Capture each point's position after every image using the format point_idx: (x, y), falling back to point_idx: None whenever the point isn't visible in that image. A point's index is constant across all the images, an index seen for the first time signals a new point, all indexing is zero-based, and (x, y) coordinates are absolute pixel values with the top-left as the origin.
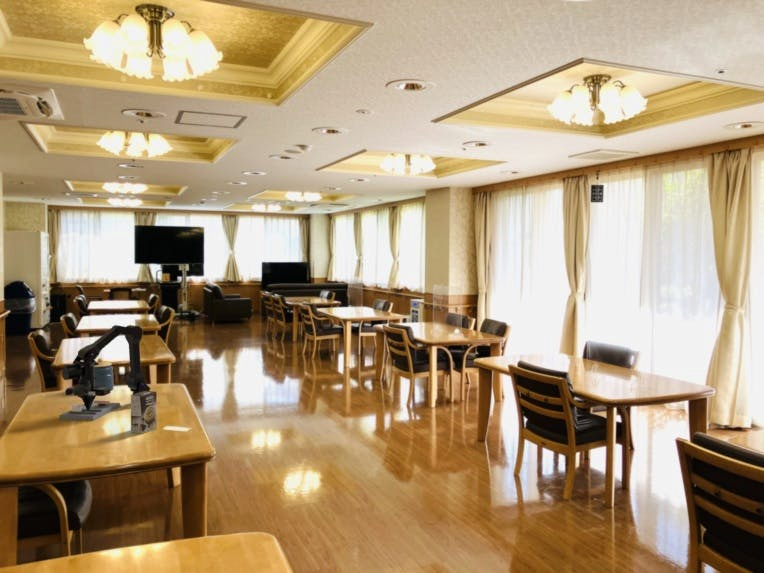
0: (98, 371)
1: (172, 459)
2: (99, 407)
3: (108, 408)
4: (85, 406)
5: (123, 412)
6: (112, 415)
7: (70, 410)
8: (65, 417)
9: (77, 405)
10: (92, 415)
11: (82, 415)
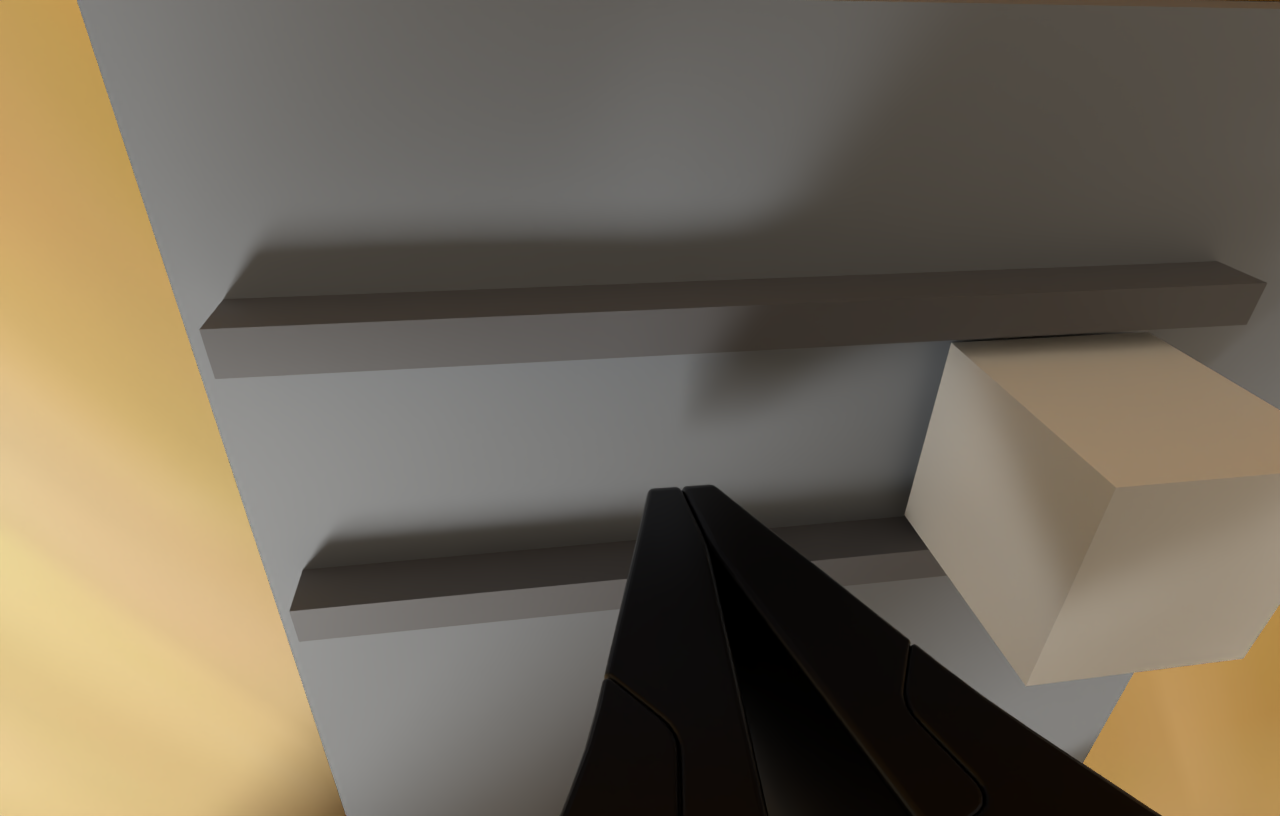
0: None
1: None
2: None
3: (354, 801)
4: None
5: (43, 785)
6: (74, 582)
7: None
8: (1229, 5)
9: (1140, 498)
10: (223, 118)
11: (656, 71)
